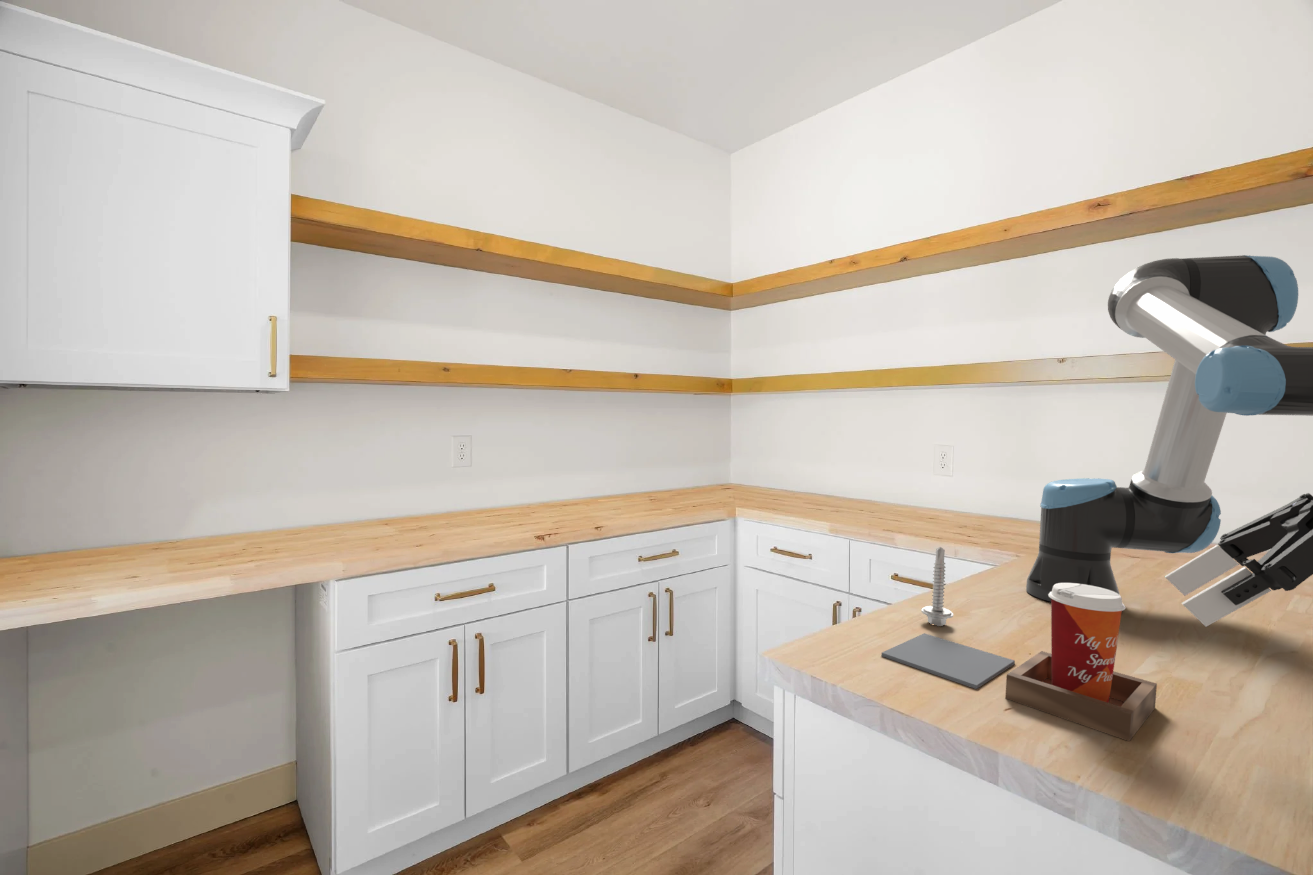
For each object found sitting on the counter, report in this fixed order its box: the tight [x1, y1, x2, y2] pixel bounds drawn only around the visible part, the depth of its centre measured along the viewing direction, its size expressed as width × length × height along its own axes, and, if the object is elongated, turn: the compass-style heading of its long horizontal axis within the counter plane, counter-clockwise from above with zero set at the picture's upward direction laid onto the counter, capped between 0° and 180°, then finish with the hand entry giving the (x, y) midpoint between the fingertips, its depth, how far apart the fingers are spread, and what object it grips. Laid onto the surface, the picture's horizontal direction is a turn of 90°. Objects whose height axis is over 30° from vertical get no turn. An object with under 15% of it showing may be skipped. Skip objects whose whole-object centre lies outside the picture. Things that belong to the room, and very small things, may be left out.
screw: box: [921, 546, 954, 627], centre depth 102 cm, size 13×5×5 cm
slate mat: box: [881, 632, 1016, 690], centre depth 87 cm, size 13×13×1 cm
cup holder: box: [1004, 650, 1158, 742], centre depth 75 cm, size 12×12×3 cm
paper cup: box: [1048, 583, 1126, 703], centre depth 75 cm, size 8×8×14 cm
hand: (1182, 599), depth 69 cm, fingers open, 13 cm apart
